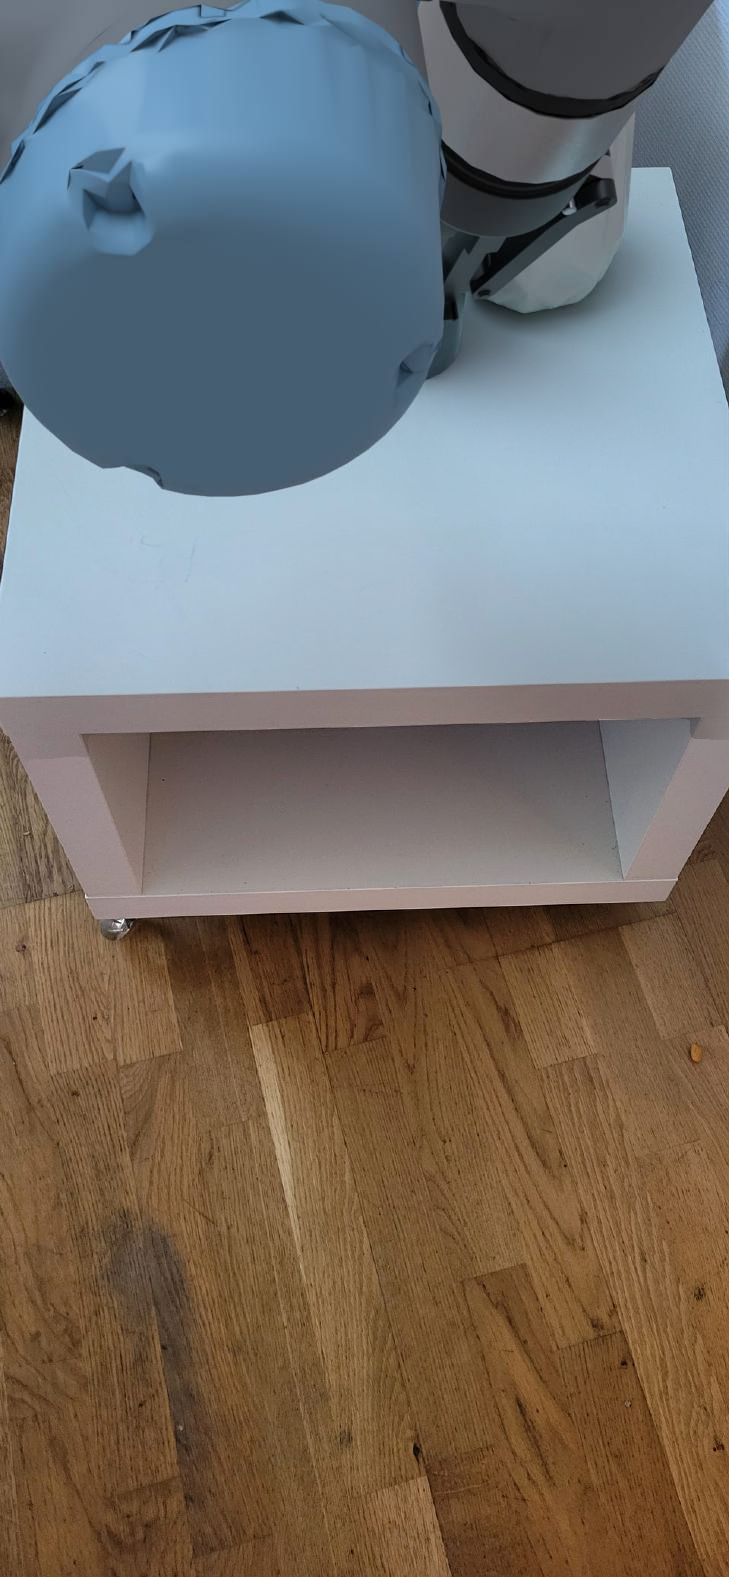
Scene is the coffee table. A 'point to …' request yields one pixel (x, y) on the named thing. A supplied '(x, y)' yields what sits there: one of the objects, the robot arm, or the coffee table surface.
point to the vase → (577, 248)
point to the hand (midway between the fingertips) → (385, 336)
